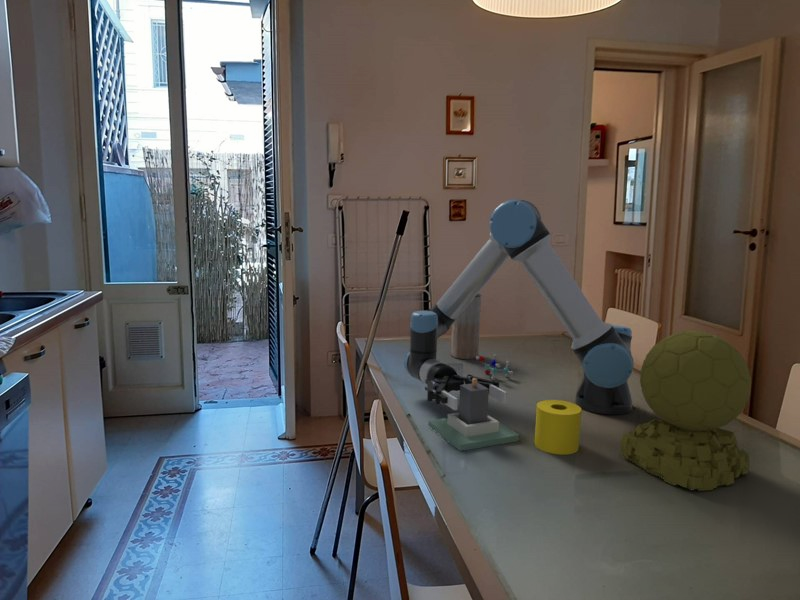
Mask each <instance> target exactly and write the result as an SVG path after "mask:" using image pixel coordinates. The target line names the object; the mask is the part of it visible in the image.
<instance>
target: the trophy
mask: <svg viewBox="0 0 800 600" xmlns="http://www.w3.org/2000/svg"><path fill="white" fill-rule="evenodd" d="M639 384H640V387H641V393H642V395H643V399H644V400H645V402H646V404H647V405H648V406H649V408H650V409H651V411H653V413H655V414H656V415H657V417H659V418H660V419H658V418H654V419H652V420H649V421H648V422H642V423H639V424H635V428H634V429H633V430H631V429H630V431H628V432H627V434H624V433H622V437H621V440H620V446H621V447H620V448H621V449H620V455H622V456H623V457H625V459H627V460H628V461H630V462H631V461H632V463H633V464H634V463H635V464H634V465H635V466H636V465H637V467H639V468H641V469H642V468H643V469H642V470H644V471H645V470H646V471H645V472H647V473H649V474H650V473H652V474H651V475H653V474H654V475H653V476H655V475H657V476H659V477H658V478H660V477H662V478H664V479H663V482H664V483H666V482H667V483H666V484H669V485H672V486H674V485H675V486H679V485H680V487H681V486H682V487H681V488H684V487H685V489H686V488H689V489H692V490H693V489H697V490H696V491H698V492H700V491H702V492H703V491H712V490H715V489H717V488H718V487H720V486H729V485H733V484H735V479H737V478H739V477H740V475H746V474H749V473H750V455H749V453H748V452H746V451H745V450H744V449H739V445H738V441H737V437H736V435H735V432H734V431H730V430H727V429H723V428H722V427H725V426H727V425H729V423H731V422H732V421H734V420H736V419H737V418H738V417H739V416H740V415H741V414H742V413H743V411H744V410H745V408H746V406H747V403H748V402H749V399H750V396H751V391H752V390H751V389H752V388H751V387H752V379H751V374H750V368H749V366H748V364H747V362H746V360H745V359H744V357H743V356H742V354H741V353H740V352H739V350H738V349H737V348H736V347H734V345H732V344H731V343H730V342H728V341H726V340H725V339H723V338H722V337H720V336H718V335H715V334H712V333H711V334H710V333H709V332H705V331H700V330H689V331H679V332H676V333H673V334H670V335H668V336H666V337H665V338H662V339H660V340H659V341H658V342H657V343H656V344H654V345H653V346H652V348H651V349H650V350H649V352H648V353H647V354H646V356H645V358H644V360H643V363H642V366H641V369H640V377H639ZM657 476H656V477H657ZM662 478H661V479H662ZM677 484H678V485H677ZM675 486H674V487H675ZM714 488H715V489H714ZM689 489H688V490H689ZM693 491H694V490H693Z"/></svg>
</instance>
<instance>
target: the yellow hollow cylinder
mask: <svg viewBox="0 0 800 600" xmlns="http://www.w3.org/2000/svg"><path fill="white" fill-rule="evenodd" d="M581 420H582V408H581V407H579V406H578V405H576V403H575V402H574V403H573V402H571V401H567V400H561V399H545V400H542V401H539V402H537V403H536V413H535V430H534V441H533V442H534V443H533V444H534V446H535V447H536V448H537V449H539V450H541V451H543V452H545V453H549V454H552V455H572V454H575V453H577V452H578V451H579V447H580V436H581V435H580V433H581V423H582V421H581Z"/></svg>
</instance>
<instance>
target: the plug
mask: <svg viewBox="0 0 800 600" xmlns="http://www.w3.org/2000/svg"><path fill="white" fill-rule="evenodd" d="M489 396H490V395H489V389H488V388H486V387H484V386H483V385H481V384H479V383H477V379H476V378H473V379H472V384H465V383H464V385H460V391H459V400H458V402H459V403H458V405H459V406H458V412H459V419H460V420H462V421H463V422H465V423H466V424H468V425H470V424H476V423H482V422H487V415H489V413H488V412H489V411H488V410H489Z"/></svg>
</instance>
